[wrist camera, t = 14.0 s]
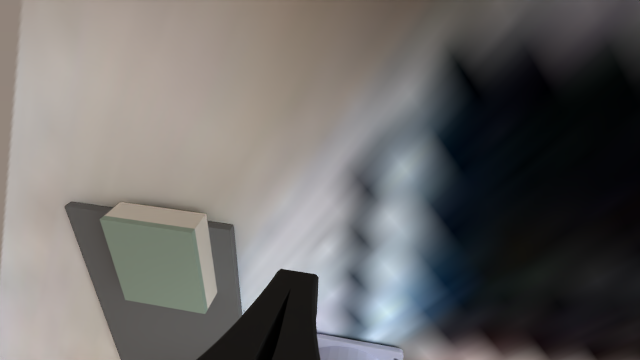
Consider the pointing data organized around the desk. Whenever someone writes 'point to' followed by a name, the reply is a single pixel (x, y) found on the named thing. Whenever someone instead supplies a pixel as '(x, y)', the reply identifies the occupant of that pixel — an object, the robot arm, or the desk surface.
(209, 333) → the mat
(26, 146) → the desk surface
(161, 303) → the tile
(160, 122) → the desk surface
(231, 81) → the desk surface
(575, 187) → the desk surface
